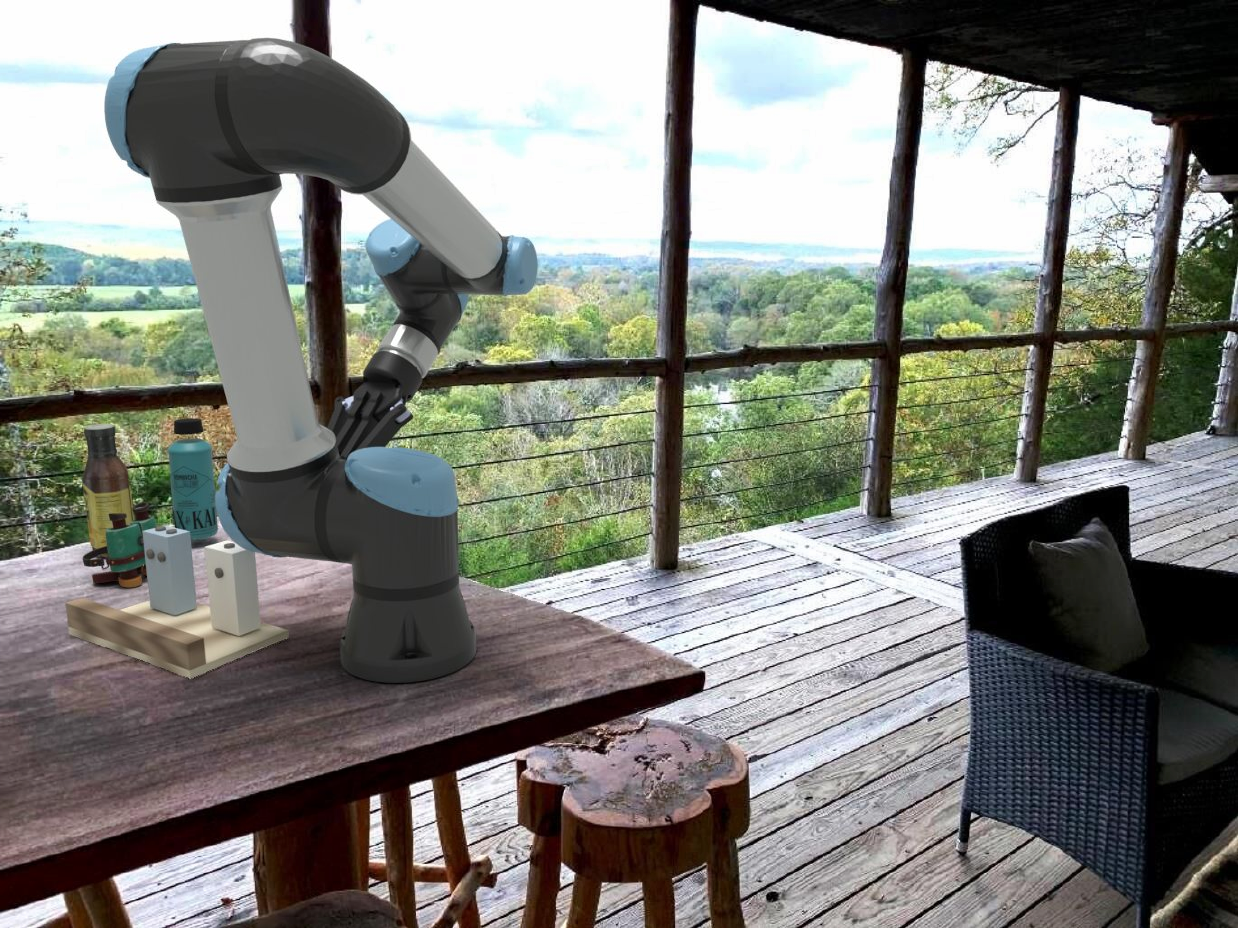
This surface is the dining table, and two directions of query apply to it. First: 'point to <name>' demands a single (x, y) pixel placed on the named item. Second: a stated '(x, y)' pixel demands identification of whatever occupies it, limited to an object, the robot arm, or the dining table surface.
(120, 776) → the dining table surface
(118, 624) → the holder
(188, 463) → the beverage bottle
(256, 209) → the robot arm
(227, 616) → the tile one
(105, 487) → the sauce bottle
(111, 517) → the binoculars
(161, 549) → the tile two
